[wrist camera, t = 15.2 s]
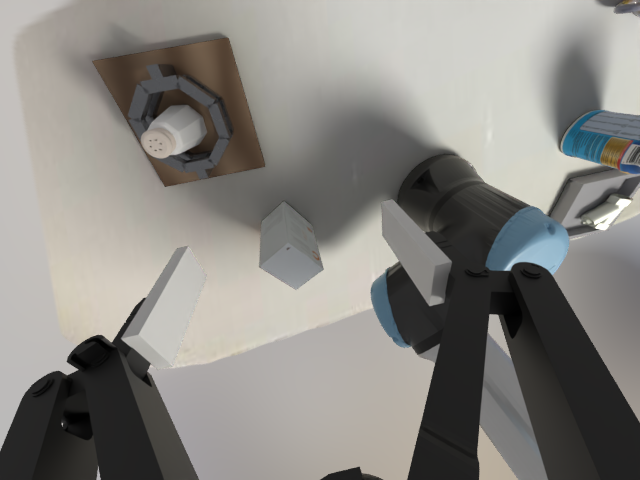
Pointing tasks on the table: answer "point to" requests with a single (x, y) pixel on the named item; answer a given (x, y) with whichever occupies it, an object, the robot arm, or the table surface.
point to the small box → (289, 247)
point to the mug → (628, 7)
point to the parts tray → (591, 198)
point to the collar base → (191, 101)
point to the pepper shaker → (174, 132)
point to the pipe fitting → (605, 212)
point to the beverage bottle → (605, 140)
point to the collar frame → (167, 79)
